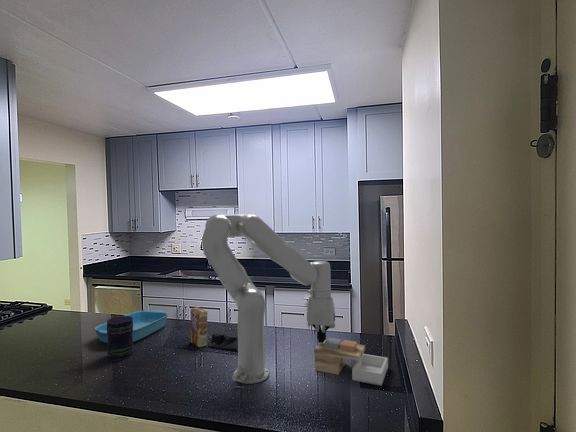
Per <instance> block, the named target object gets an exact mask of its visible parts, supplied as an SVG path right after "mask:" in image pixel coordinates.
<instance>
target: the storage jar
mask: <svg viewBox="0 0 576 432" xmlns="http://www.w3.org/2000/svg"><path fill="white" fill-rule="evenodd" d="M132 320H133V317H131V316H124V315H122V316H116V317H111V318H109V319H107V321H106V322H107V335H108V343H106V346H107V348H106V352H107V360H108V361H121V360H122V359H123V360H126V359H129V358H130V357H133V355H134V342H133V339H132V332H133V321H132Z"/></svg>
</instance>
